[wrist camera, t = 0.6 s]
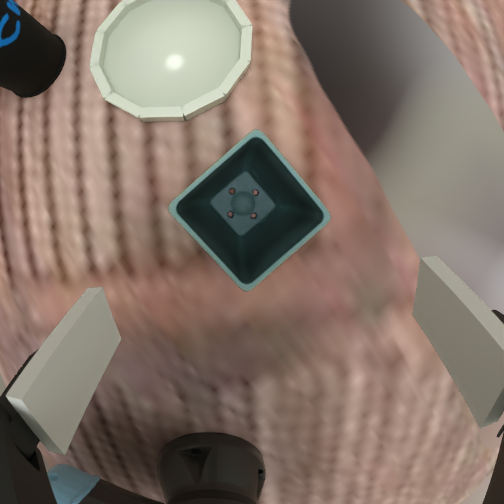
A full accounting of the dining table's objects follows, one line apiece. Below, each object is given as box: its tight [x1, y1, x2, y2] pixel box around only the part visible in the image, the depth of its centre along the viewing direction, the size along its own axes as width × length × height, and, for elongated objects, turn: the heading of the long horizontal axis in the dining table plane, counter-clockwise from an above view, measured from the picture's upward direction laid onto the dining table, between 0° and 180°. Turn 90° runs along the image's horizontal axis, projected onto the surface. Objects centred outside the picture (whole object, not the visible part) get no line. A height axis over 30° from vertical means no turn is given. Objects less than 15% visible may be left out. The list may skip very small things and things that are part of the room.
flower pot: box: [168, 129, 331, 291], centre depth 27 cm, size 9×9×9 cm
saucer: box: [89, 0, 252, 122], centre depth 27 cm, size 16×16×2 cm
